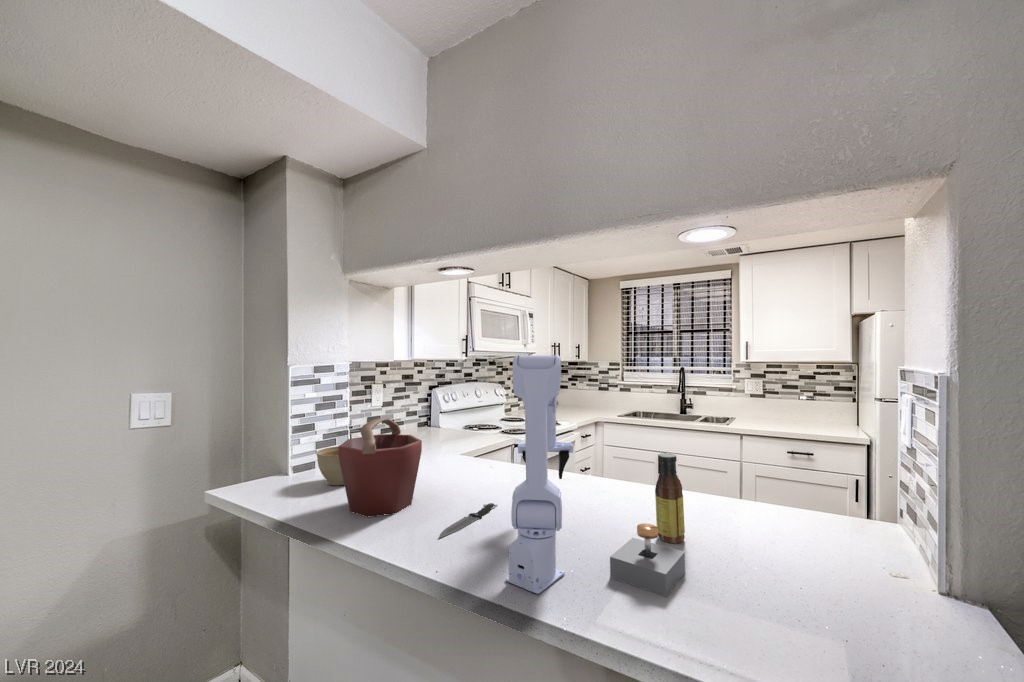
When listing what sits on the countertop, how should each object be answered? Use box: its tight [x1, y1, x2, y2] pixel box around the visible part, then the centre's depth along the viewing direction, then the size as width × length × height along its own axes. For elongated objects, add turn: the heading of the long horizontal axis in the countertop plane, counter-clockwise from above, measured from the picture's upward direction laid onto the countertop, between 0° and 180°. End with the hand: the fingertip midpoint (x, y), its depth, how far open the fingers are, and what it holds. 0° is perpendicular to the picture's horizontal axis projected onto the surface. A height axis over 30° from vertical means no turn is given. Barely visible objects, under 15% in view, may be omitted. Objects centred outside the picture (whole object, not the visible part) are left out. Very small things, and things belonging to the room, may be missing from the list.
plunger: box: [636, 523, 659, 557], centre depth 87 cm, size 4×4×6 cm
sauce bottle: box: [654, 452, 686, 544], centre depth 103 cm, size 6×6×20 cm
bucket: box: [338, 417, 423, 518], centre depth 127 cm, size 24×22×25 cm
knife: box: [438, 502, 498, 540], centre depth 115 cm, size 26×1×5 cm
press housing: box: [609, 537, 686, 597], centre depth 87 cm, size 11×11×4 cm
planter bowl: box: [316, 445, 345, 486], centre depth 150 cm, size 16×16×11 cm
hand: (545, 477), depth 117 cm, fingers open, 7 cm apart
